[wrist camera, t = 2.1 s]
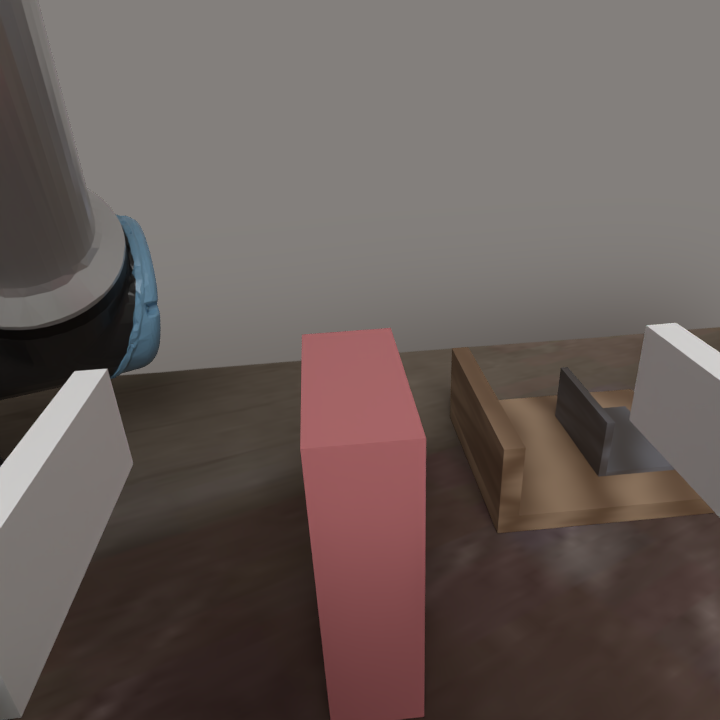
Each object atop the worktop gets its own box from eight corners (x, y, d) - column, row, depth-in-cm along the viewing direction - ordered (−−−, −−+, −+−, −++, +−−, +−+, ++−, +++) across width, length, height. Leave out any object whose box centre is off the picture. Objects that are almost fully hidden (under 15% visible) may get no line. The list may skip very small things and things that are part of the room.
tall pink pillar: (331, 727, 31) (300, 448, 23) (325, 568, 41) (302, 334, 33) (424, 716, 32) (426, 438, 23) (396, 562, 41) (390, 327, 33)
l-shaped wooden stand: (497, 533, 43) (504, 449, 40) (450, 417, 58) (452, 348, 54) (732, 511, 44) (758, 427, 41) (628, 402, 58) (641, 333, 55)
